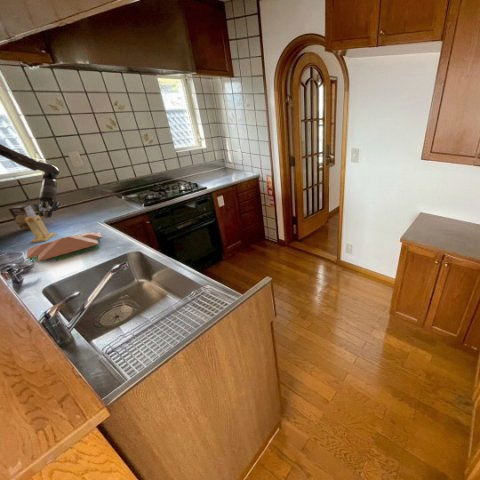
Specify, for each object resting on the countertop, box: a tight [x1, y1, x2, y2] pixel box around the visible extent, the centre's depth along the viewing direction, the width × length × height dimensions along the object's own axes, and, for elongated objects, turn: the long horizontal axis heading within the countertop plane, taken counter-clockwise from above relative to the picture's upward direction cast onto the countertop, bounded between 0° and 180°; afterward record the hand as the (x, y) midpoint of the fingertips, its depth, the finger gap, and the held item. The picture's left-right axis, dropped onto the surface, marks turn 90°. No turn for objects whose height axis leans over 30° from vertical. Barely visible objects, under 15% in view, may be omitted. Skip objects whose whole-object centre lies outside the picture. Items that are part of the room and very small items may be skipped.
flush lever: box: [29, 212, 50, 222], centre depth 167 cm, size 14×4×4 cm, turn 12°
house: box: [26, 231, 103, 262], centre depth 150 cm, size 23×33×8 cm
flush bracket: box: [25, 214, 57, 243], centre depth 164 cm, size 10×8×15 cm
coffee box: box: [8, 204, 37, 231], centre depth 180 cm, size 9×6×16 cm
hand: (45, 217), depth 170 cm, fingers closed on flush lever, 3 cm apart
